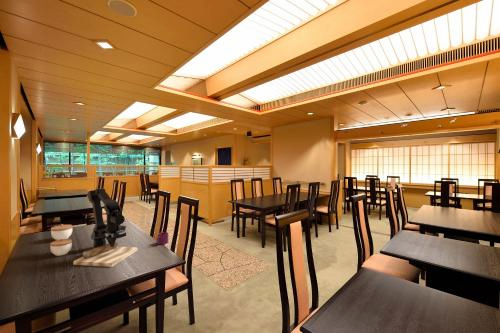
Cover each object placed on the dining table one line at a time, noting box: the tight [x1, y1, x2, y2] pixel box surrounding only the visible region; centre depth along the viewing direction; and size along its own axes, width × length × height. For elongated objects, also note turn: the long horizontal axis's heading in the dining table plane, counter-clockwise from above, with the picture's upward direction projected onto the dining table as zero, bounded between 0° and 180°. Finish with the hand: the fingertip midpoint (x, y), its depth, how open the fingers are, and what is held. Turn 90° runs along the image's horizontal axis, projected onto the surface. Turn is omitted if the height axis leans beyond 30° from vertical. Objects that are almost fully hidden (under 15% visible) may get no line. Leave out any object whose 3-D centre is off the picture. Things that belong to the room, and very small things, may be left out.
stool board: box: [73, 245, 139, 268], centre depth 139 cm, size 23×24×2 cm
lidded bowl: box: [50, 223, 73, 241], centre depth 170 cm, size 13×13×11 cm
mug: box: [156, 231, 169, 245], centre depth 162 cm, size 7×10×7 cm
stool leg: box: [82, 241, 119, 258], centre depth 140 cm, size 20×3×3 cm, turn 155°
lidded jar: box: [49, 238, 73, 257], centre depth 143 cm, size 11×11×9 cm
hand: (112, 246), depth 144 cm, fingers closed
